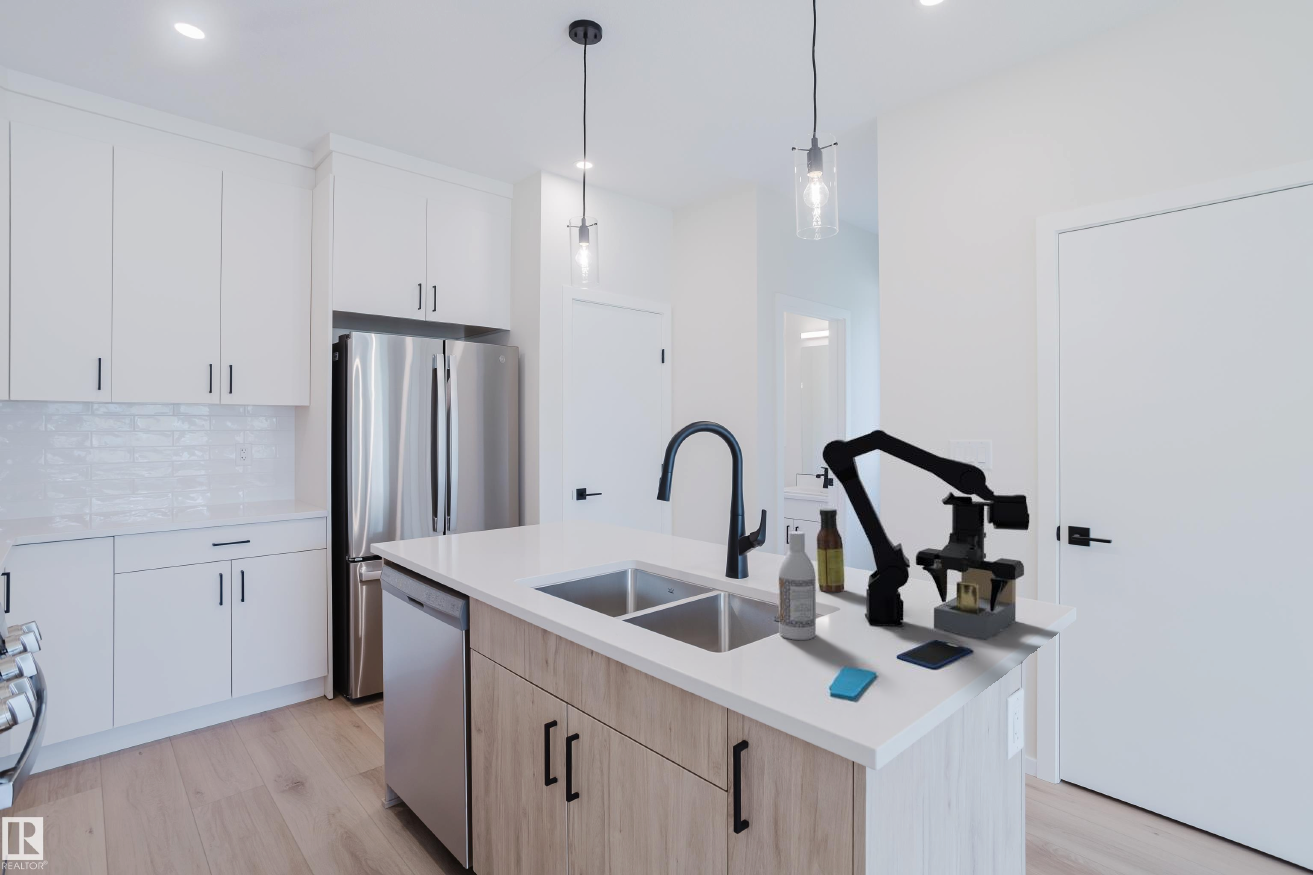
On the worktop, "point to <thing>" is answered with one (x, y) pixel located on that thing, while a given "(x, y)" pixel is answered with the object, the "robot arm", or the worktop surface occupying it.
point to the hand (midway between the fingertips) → (967, 606)
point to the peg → (967, 597)
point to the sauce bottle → (830, 553)
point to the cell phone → (934, 654)
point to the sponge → (851, 683)
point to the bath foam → (797, 591)
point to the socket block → (986, 620)
